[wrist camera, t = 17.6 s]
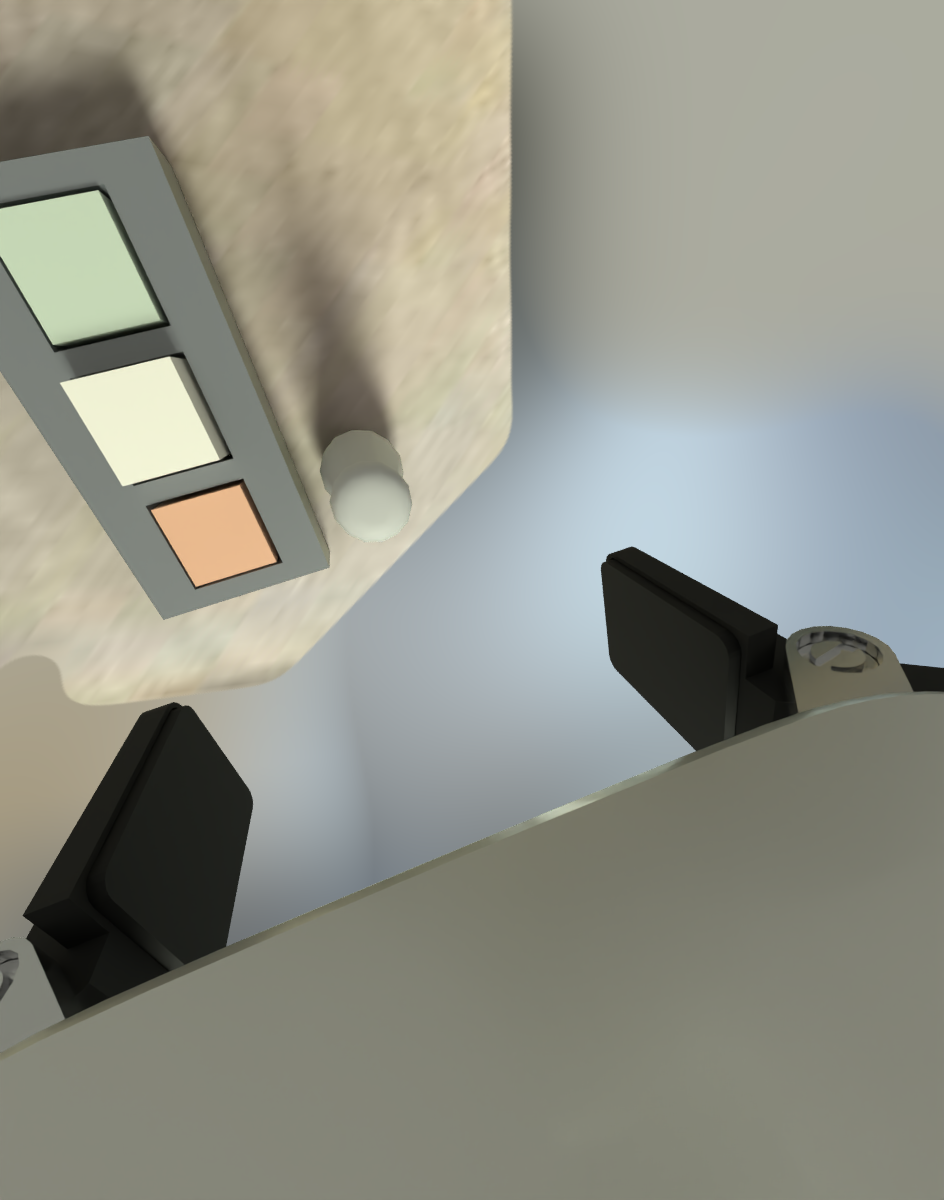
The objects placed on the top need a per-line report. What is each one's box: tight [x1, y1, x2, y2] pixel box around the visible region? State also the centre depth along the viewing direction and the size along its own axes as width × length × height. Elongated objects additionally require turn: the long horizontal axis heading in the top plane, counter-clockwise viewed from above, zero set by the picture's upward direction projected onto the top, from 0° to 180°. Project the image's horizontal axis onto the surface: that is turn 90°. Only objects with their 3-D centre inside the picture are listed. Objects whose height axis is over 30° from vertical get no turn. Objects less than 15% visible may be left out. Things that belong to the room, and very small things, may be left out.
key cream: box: [60, 356, 231, 486], centre depth 27 cm, size 6×6×4 cm
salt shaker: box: [320, 430, 412, 542], centre depth 29 cm, size 6×6×13 cm
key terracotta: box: [151, 479, 279, 587], centre depth 32 cm, size 6×6×4 cm
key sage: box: [0, 190, 171, 348], centre depth 25 cm, size 6×6×4 cm
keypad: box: [0, 136, 330, 620], centre depth 29 cm, size 24×12×4 cm, turn 12°
